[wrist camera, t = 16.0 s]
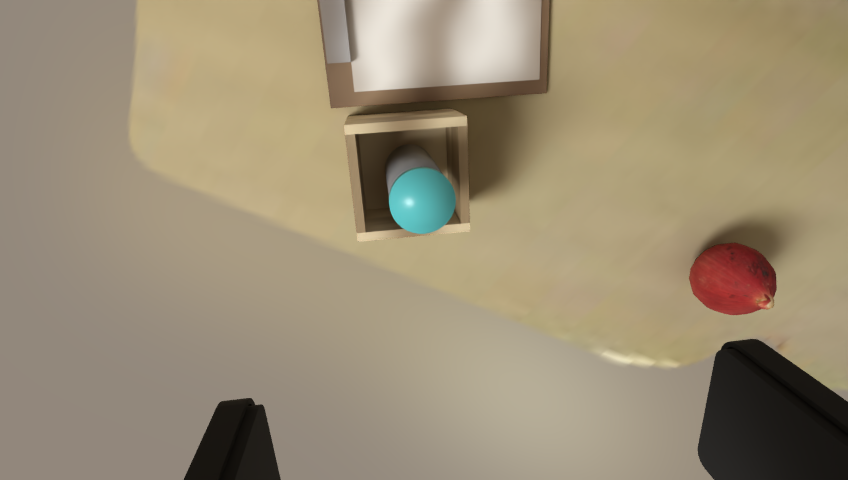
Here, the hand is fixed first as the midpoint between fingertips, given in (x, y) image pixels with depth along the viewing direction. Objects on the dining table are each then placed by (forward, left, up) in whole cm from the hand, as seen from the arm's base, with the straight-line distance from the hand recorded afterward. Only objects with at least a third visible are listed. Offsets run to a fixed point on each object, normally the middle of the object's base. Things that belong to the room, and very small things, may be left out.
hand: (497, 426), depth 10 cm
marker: (0, 0, -28) cm, 28 cm away
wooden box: (0, 0, -28) cm, 28 cm away
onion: (-26, +11, -28) cm, 40 cm away
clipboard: (-3, -10, -28) cm, 30 cm away
